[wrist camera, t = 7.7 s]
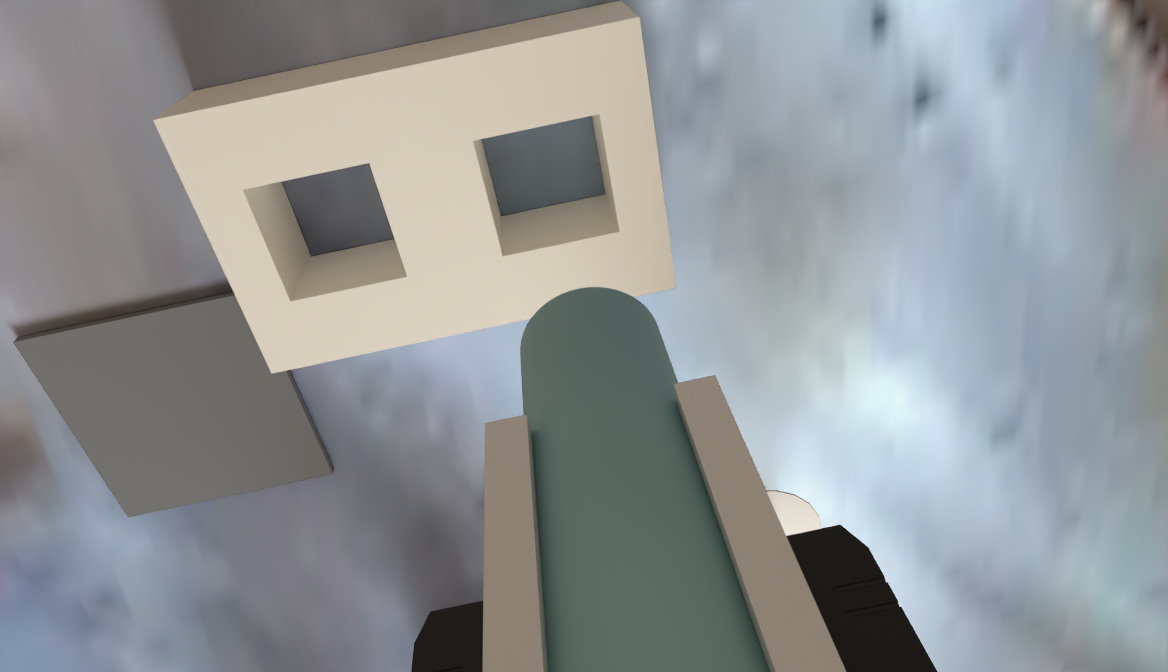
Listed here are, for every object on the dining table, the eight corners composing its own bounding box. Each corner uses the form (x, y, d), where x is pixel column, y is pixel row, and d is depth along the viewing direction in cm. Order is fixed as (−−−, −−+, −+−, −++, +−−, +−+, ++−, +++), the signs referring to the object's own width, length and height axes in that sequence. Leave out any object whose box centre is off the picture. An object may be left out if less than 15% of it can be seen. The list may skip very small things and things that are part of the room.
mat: (131, 511, 38) (128, 517, 38) (18, 337, 33) (13, 342, 33) (334, 468, 38) (332, 473, 38) (252, 287, 33) (249, 292, 33)
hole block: (293, 323, 34) (271, 373, 30) (193, 91, 29) (153, 120, 25) (657, 246, 34) (676, 287, 30) (621, 0, 29) (639, 17, 25)
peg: (535, 419, 19) (586, 1090, 8) (506, 303, 17) (524, 961, 7) (667, 392, 19) (882, 1032, 8) (651, 273, 17) (890, 890, 7)
